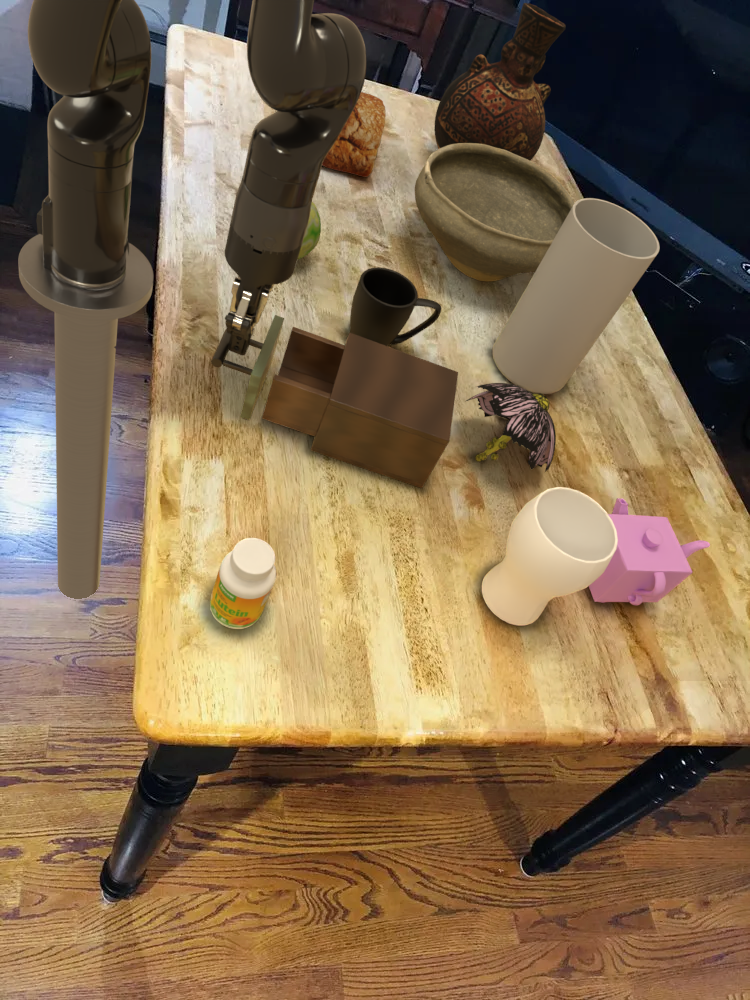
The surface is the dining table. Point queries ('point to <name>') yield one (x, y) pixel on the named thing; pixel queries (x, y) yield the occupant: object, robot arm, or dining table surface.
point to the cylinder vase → (573, 294)
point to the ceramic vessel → (502, 92)
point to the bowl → (490, 209)
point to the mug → (386, 307)
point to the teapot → (643, 559)
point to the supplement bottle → (243, 584)
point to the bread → (359, 138)
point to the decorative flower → (519, 422)
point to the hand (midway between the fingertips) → (237, 349)
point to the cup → (549, 554)
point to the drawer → (289, 377)
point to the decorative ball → (311, 232)
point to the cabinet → (388, 412)
